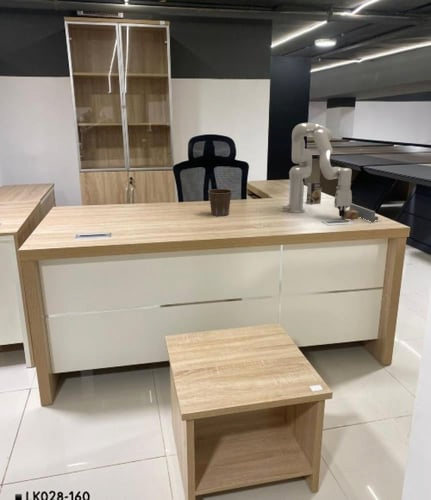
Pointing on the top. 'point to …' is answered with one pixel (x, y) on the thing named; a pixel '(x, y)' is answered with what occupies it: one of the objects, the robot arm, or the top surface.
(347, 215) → the walnut block
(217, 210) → the plant pot
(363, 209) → the board
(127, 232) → the top surface
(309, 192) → the coffee box
